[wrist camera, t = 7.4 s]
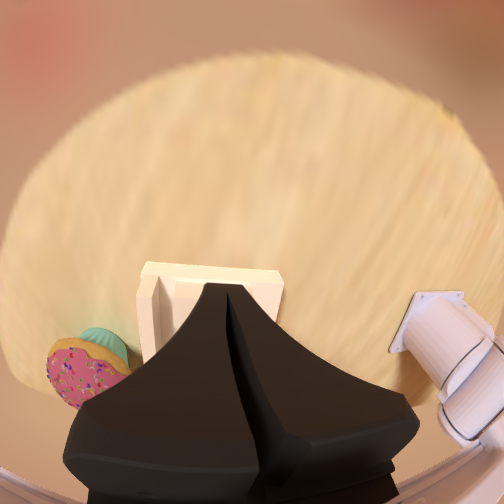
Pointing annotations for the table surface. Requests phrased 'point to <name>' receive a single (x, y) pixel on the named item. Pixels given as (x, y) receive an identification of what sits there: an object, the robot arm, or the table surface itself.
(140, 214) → the table surface
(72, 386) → the cupcake
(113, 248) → the table surface
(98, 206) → the table surface
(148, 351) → the cream lipped block
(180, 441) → the robot arm
